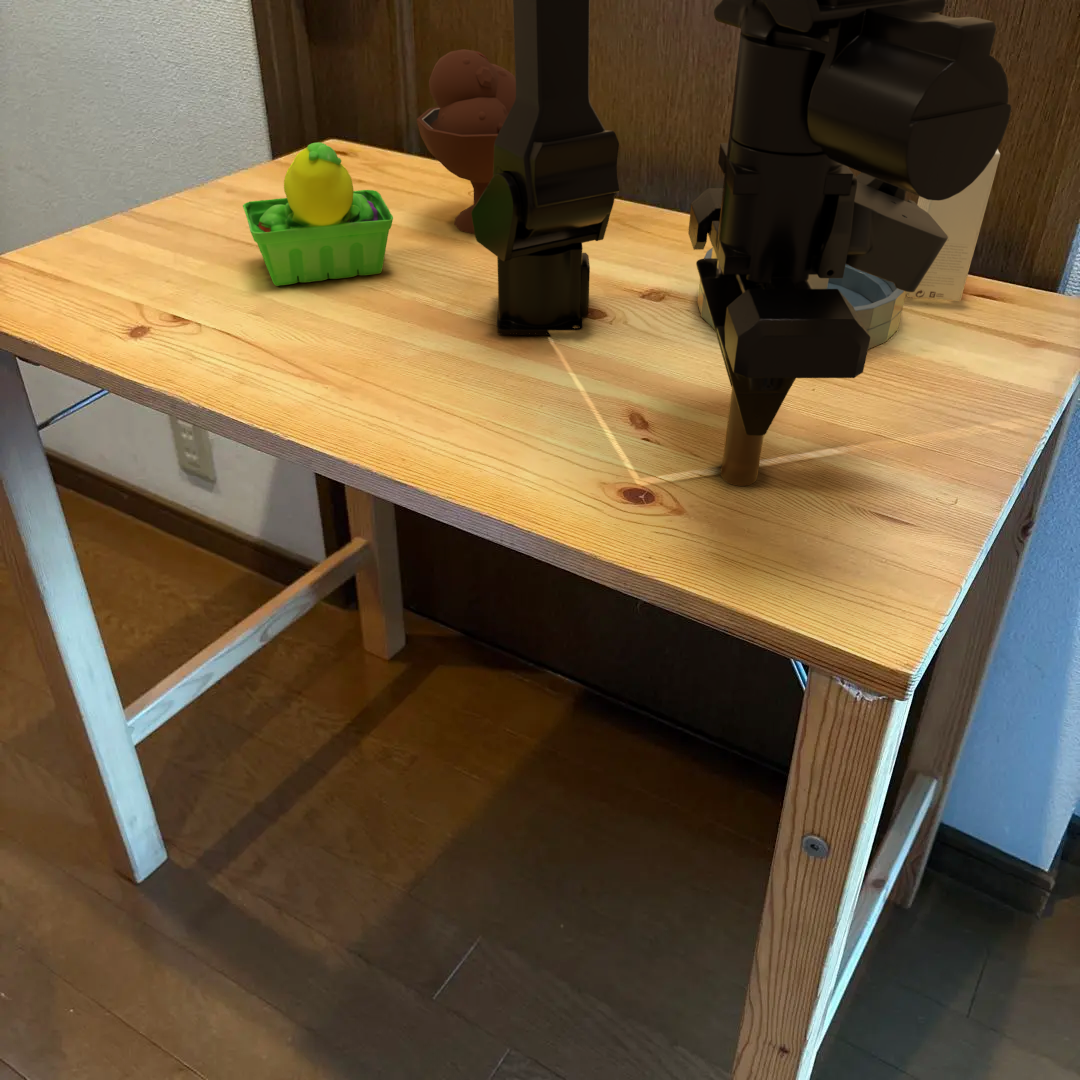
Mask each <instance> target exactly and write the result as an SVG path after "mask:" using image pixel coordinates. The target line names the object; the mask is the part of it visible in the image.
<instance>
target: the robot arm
mask: <svg viewBox="0 0 1080 1080" xmlns="http://www.w3.org/2000/svg"><path fill="white" fill-rule="evenodd" d="M945 6H946V0H721V1H720V2H719V3H718V4H716V6H715V7H714V8H713V9H714V10H713V16H714V17H713V18H714V19H715V20H716V21H717V22H719V23H722V24H724V25H728V26H731V27H735V28H738V29H740V34H739V43H738V51H737V61H736V71H735V78H734V88H733V98H732V105H731V108H732V109H731V114H730V115H731V116H730V122H729V123H730V124H729V133H728V140H727V142H720V143H719V152H718V162H717V163H718V165H719V168H720V170H721V172H722V174H723V185H722V186H723V187H722V188H721V187H719V188H717V187H715V188H713V187H711V188H708V187H707V188H706V189H705V190H704V191H703V192H702V193H701V194H699V196H698V197H697V198H695V199H694V200H693V201H692V202H691V203H690V210H689V220H688V221H689V223H688V232H687V233H688V237H689V239H690V243H691V246H692V250H693V251H694V250H696V251H697V250H699V251H700V250H704V249H705V247H706V244H707V241H708V239H709V241H710V244H711V246H712V247H713V248H712V247H711V248H712V257H711V258H704V257H703V258H700V259H697V261H696V264H695V265H696V269H697V273H698V276H699V281H700V280H701V283H702V287H703V290H704V294H705V297H706V301H707V304H708V308H709V311H710V315H711V318H712V322H713V325H714V329H713V330H714V332H715V335H716V338H717V342H718V345H719V349H720V353H721V356H722V359H723V363H724V366H725V367H724V368H725V370H726V374H727V377H728V381H729V384H730V387H731V389H732V386H733V389H734V393H735V397H736V400H737V404H738V407H739V411H740V415H741V418H742V422H743V425H744V429H745V432H746V434H747V435H749V436H762V435H764V436H765V435H766V434H767V433H768V431H769V429H770V427H771V425H772V424H773V422H774V419H775V417H776V415H777V414H778V412H779V410H780V408H781V406H782V405H783V403H784V401H785V399H786V397H787V395H788V393H789V391H790V390H791V388H792V386H793V384H794V383H795V381H796V379H855V378H856V377H858V376H860V375H861V374H862V373H864V370H865V365H866V360H867V355H868V351H869V349H868V347H869V342H870V338H871V337H870V335H869V334H868V332H867V330H866V328H865V327H864V325H863V323H862V321H861V320H860V318H859V316H858V314H857V313H856V311H855V309H854V307H853V306H852V305H851V304H850V302H849V301H848V300H847V299H846V298H845V297H844V296H843V294H842V293H841V292H840V291H839V290H838V289H812V288H811V286H810V285H809V283H808V281H807V280H808V279H809V275H818V277H819V278H843V275H844V270H845V264H847V265H849V266H851V267H853V268H855V269H858V270H860V271H863V272H866V273H868V274H871V275H874V276H877V277H879V278H882V279H885V280H887V281H890V282H893V283H894V285H895V287H896V288H898V289H900V290H903V291H906V292H915V290H916V289H917V287H918V286H919V284H920V282H921V281H922V279H923V278H924V276H925V274H926V273H927V271H928V270H929V268H930V266H931V265H932V263H933V261H934V260H935V258H936V257H937V255H938V253H939V252H940V250H941V249H942V247H943V245H944V244H945V242H946V241H947V239H948V236H947V235H946V233H945V232H944V231H943V230H942V229H941V227H940V226H939V225H938V224H937V223H936V222H935V220H934V219H933V218H932V217H931V216H930V215H929V214H928V213H927V212H926V211H925V210H923V209H921V208H920V207H919V206H918V205H917V204H918V203H916V202H915V200H912V199H908V200H906V194H907V193H908V192H909V193H911V194H912V195H915V196H918V197H919V196H920V197H923V198H925V199H927V200H938V201H939V200H944V199H948V198H950V197H952V196H954V195H956V194H958V193H960V192H961V191H963V190H964V189H965V188H966V187H968V186H969V185H970V184H972V183H973V182H974V181H975V179H976V178H977V177H978V176H979V175H980V174H981V173H982V172H983V171H984V169H985V168H986V167H987V165H988V164H989V162H990V161H991V159H992V158H993V156H994V155H995V153H996V151H997V149H998V150H999V147H1000V145H1001V143H1002V141H1003V139H1004V136H1005V133H1006V131H1007V127H1008V125H1009V121H1010V119H1011V118H1010V117H1011V113H1012V105H1011V104H1010V103H1009V91H1010V89H1009V83H1008V78H1007V77H1008V76H1007V73H1006V71H1005V70H1004V68H1003V65H1002V64H1001V63H1000V62H999V61H998V60H997V59H996V58H995V57H993V56H992V55H991V53H992V48H993V43H994V41H995V37H996V32H997V27H996V24H995V22H994V21H992V20H988V19H984V18H980V17H976V16H963V17H954V16H953V17H952V16H948V15H944V14H941V13H942V12H943V11H944V9H945ZM512 7H513V8H512V9H513V11H512V12H513V13H512V14H513V34H514V35H513V41H514V44H513V45H514V67H515V68H514V73H515V74H514V76H515V78H516V100H515V102H514V104H513V106H512V108H511V110H510V112H509V114H508V116H507V118H506V120H505V122H504V124H503V126H502V128H501V130H500V132H499V134H498V136H497V138H496V140H495V143H494V166H493V177H492V179H491V181H490V182H489V184H488V185H487V187H486V189H485V190H484V192H483V194H482V195H481V197H480V198H479V200H478V202H477V203H476V205H475V206H474V208H473V210H472V212H471V215H472V221H473V226H474V232H475V234H474V237H475V240H476V242H477V243H479V245H481V246H482V247H484V248H485V249H486V250H488V251H489V252H490V253H492V254H493V255H494V256H496V258H497V259H496V260H497V262H496V263H497V264H496V265H497V316H496V333H497V334H498V335H504V336H506V335H508V336H510V335H513V336H514V335H515V336H516V335H518V336H520V335H522V336H523V335H525V336H526V335H528V336H529V335H531V336H532V335H534V336H537V335H539V336H541V335H547V336H549V335H551V333H550V332H549V331H580V330H583V328H584V325H583V324H584V323H583V318H587V317H588V316H589V308H590V307H589V305H590V303H589V301H590V277H591V276H590V273H591V267H590V258H589V257H590V256H589V254H588V253H587V252H583V244H584V243H588V242H593V241H595V242H599V241H603V240H605V235H606V232H607V228H608V225H609V221H610V218H611V214H612V211H613V208H614V205H615V204H614V203H615V199H616V195H617V193H619V192H620V186H619V185H620V184H619V180H618V179H619V178H618V158H619V157H618V155H619V149H620V143H619V139H618V137H617V134H616V132H615V131H614V130H609V129H608V130H607V129H606V128H605V126H604V124H603V122H602V121H601V119H600V118H599V116H598V113H597V112H596V110H595V108H594V106H593V105H592V102H591V97H590V63H591V62H590V57H591V55H590V53H591V52H590V51H591V50H590V49H591V48H590V47H591V44H590V43H591V41H590V40H591V0H512ZM851 169H852V170H855V171H857V172H859V174H858V175H855V174H854V173H853V171H852V170H851ZM906 192H907V193H906Z"/></svg>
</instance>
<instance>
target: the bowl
mask: <svg viewBox="0 0 1080 1080" xmlns="http://www.w3.org/2000/svg"><path fill="white" fill-rule="evenodd" d="M712 248H713V246H712V247H711V248H709V249H708V250H707V251H706V252H705V254H704V257H703V259H704V258H711V257H712ZM827 289H838V290H839V291H840V292H841V293H842V294H843V296H844V297H845V298H846V299H847V300H848V301H849V302H850V304H851V305H852V306H853V307H854V309H855V311H856V313H857V314H858V316H859V318H860V320H861V321H862V323H863V325H864V327H865V328H866V330H867V332H868V334H869V335H870V337H871V338H870V342H869V347H868V350H871V349H872V348H875V347H877V346H880V345H881V344H884V343H886V342H887V341H888V340H889V339H890V338H891V337H892V336H893V335H894V334H895V333H896V332H897V331H898V329H899V326H900V321H901V318H902V314H903V309H904V305H905V300H906V297H907V294H906V291H903V290H900V289H898V288H896V287H895V285H894V283H893V282H890V281H887V280H885V279H882V278H879V277H877V276H874V275H871V274H868V273H866V272H863V271H860V270H858V269H855V268H853V267H851V266H849V265H847V264H845V270H844V275H843V278H829V280H828V286H827ZM697 292H698V293H697V302H696V303H697V306H698V311H699V313H700V316H701V318H702V319H703V320H704V321H705V323H707V324H708V325H709V326H710V327H711V328H712V329H713V330H715V329H714V325H713V322H712V318H711V315H710V311H709V308H708V304H707V301H706V297H705V294H704V290H703V287H702V283H701V280H700V279H699V283H698V291H697Z"/></svg>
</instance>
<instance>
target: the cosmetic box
mask: <svg viewBox="0 0 1080 1080" xmlns="http://www.w3.org/2000/svg"><path fill="white" fill-rule="evenodd" d="M1000 158H1001V153H1000V151H999V148H998V149H997V151H996V153H995V155H994V156H993V158H992V159H991V161H990V162H989V164H988V165H987V167H986V168H985V169H984V171H983V172H982V173H981V174H980V175H979V176H978V177H977V178H976V179H975V181H974V182H973V183H972V184H970V185H969V186H968V187H966V188H965V189H964V190H963V191H961V192H960V193H958V194H956V195H954V196H952V197H950V198H948V199H944V200H939V201H938V200H927V199H925V198H923V197H920V196H918V199H917V203H916V204H917V205H918V206H919V207H920V208H921V209H923V210H925V211H926V212H927V213H928V214H929V215H930V216H931V217H932V218H933V219H934V220H935V222H936V223H937V224H938V225H939V226H940V227H941V229H942V230H943V231H944V232H945V233H946V235H947V236H948V239H947V241H946V242H945V244H944V245H943V247H942V249H941V250H940V252H939V253H938V255H937V257H936V258H935V260H934V261H933V263H932V265H931V266H930V268H929V270H928V271H927V273H926V274H925V276H924V278H923V279H922V281H921V282H920V284H919V286H918V287H917V289H916V290H915V292H906V297H908V298H916V299H927V300H936V301H937V300H938V301H952V302H961V301H962V297H963V294H964V291H965V286H966V282H967V279H968V275H969V271H970V268H971V264H972V260H973V257H974V254H975V249H976V246H977V242H978V239H979V234H980V232H981V228H982V224H983V220H984V216H985V213H986V210H987V206H988V202H989V198H990V194H991V191H992V187H993V185H994V184H993V183H994V180H995V177H996V172H997V170H998V165H999V161H1000Z"/></svg>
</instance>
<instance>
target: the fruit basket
mask: <svg viewBox="0 0 1080 1080" xmlns="http://www.w3.org/2000/svg"><path fill="white" fill-rule="evenodd" d="M283 191H284V194H285V197H281V198H272V199H260V200H252V201H251V200H250V201H247V202H245V203H243V205H242V208H243V211H244V214H245V217H246V220H247V225H248V228H249V233H250V234H251V237H252V239H253V241H254V242H255V243H256V244H257V247H258V250H259V252H260V253H261V256H262V259H263V261H264V264H265V266H266V269H267V271H268V274H269V276H270V278H271V281H272V283H273V285H274V286H276V287H279V286H288V285H294V284H298V283H311V282H322V281H325V280H329V279H330V280H337V279H346V278H347V279H348V278H353V277H357V276H372V275H379V274H381V273H382V272H383V267H384V261H385V256H386V255H385V254H386V250H387V243H388V237H389V234H390V233H389V232H390V230H391V228H392V225H393V220H394V216H393V214H392V213H391V211H390V209H389V207H388V206H387V204H386V202H385V200H384V199H383V196H382V195H381V194H380V192H379V191H378V190H373V189H361V190H359V189H358V190H354V185H353V180H352V176H351V175H350V172H349V170H348V169H347V168H346V167H345V165H343V164H342V159H341V158H340V157H338V155H337V152H336V151H335V150H334V149H333V148H332V147H331V146H330V145H327V144H325V143H323V142H312V143H310V144H308V145H307V147H305V148H304V149H302V150H300V151H299V152H298V153H297V154H296V156H295V157H294V159H293V161H292V162H291V164H290V165H289V167H288V168H287V171H286V173H285V175H284V179H283Z"/></svg>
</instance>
